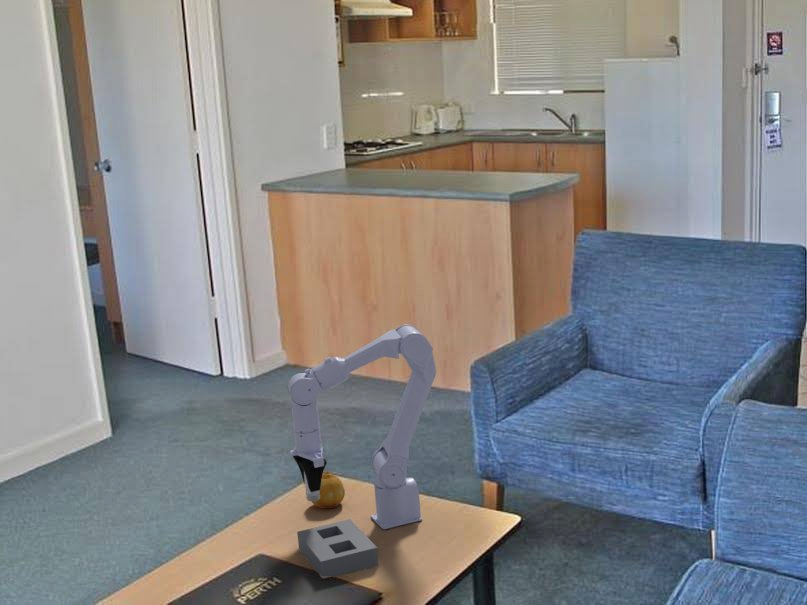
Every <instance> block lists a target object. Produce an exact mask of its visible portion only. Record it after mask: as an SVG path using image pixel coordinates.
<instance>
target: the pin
mask: <svg viewBox="0 0 807 605" xmlns="http://www.w3.org/2000/svg"><path fill="white" fill-rule="evenodd" d="M304 479H305V484H304V489H305V496H306V501H307V502H312V501H317V500H319V499H320V490H319V491H314V492H311V491H310V490H309V487H308V483H307V479H306V475H305V473H304Z"/></svg>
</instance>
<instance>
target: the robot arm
mask: <svg viewBox="0 0 807 605" xmlns="http://www.w3.org/2000/svg"><path fill="white" fill-rule="evenodd" d="M399 354H400V355H401V356H402V357H403V359H404V360H405V361H406V363H407V365H408V367H409V369H410V370H411V373H410V375H409V378H408V381H407V383H406V386H405V389H404V392H403V394H402V397H401V400H400V402H399V405H398V408H397V411H396V413H395V415H394V418H393V421H392V424H391V427H390V430H389V432H388V435H387V436H386V438H385V439H383V440H382V442H381V444H380V447H379V448H378V449H377V450H376V451H375V452H374V453H373V454H372V457H371V466H372V469H373V470H374V471H375V473H376V476H375V478H374V480H373V483H374V484H373V485H374V496H375V497H374V498H375V510H376V513H373V514H370V518H371V519H372V520H373V521H374V522H375V523H376V524H377V525H378V526H379V527H380V528H381V529H382V530H386V529H387V530H388V529H391V528H395V527H400V526H404V525H407V524H411V523H415V522H419V521H422V520H423V517H422V514H421V502H420V501H421V500H420V492H419V490H420V489H419V487H418V483H417V481H416V480H415V479H414V478H413V477H407V476H408V469H407V468H408V467H407V466H408V463H409V457H410V456H409V454H410V450H409V449H410V448H409V447H410V445H411V442H412V440H413V437H414V434H415V431H416V428H417V426H418V424H419V421H420V417H421V415H422V413H423V409H424V408H425V405H426V402H427V399H428V396H429V394H430V391H431V388H432V385H433V382H434V380H435V379H436V378H435V377H436V375H437V368H436V364H435V363H436V362H435V358H434V354H433V346H432V345H431V343H430V341H429V340H428V339H427V338H426V337H425V335H423V334H422V333H421V332H420V331H419V330H418V328H417V327H415V326H414V325H411V324H409V323H408V324H402V325H399V326H398V327H397V328H395V329H394V328H393V329H391V330H388V331H387V332H385V333H383V334H381V336H379V337H378V338H376V339H374V340H372V341H371V342H369V343H367V344H366V345H363V347H361V348H359V349H357V350H356V351H354V352H352V353H350V354H348V355H347V356H345V357H340V356H339V357H338V356H334V357H330V356H327V357H325V358H324V359H323V361H324V362H322V363H320V364H318V365H316V366H313V367H312V368H311V369H310V368H306V369H304V372H303V373H301V372H300V373H299V372H298V373H295V374H294V375H293V376H291V377H290V380H288V386H286V387H287V391H288V393H289V395H290V396H291V398H290V400H291V401H290V406H291V418H292V429H293V438H294V449H290V450H289V451H290V453H289V454H290V455H291V456H292V457H293V459H294V461H295V462H296V464H297V466H298V470H299V472H300V474H301V478H302V481H303V484H304V485H305V479H304V473H305V475H306V479H307V483H308V487H309V490H310V491H311V492H314V491H319V490H320V487H321V479H322V474H323V472H325V471H324V470H325V468H326V466H327V462H328V461H327V459H326V458H324V456H323V452H324V451H323V450H324V448H323V444H322V436H321V435H322V434H321V424H320V415H319V407H318V404H317V399H318V397H319V395H321V394H323V393H326V392H327V391H330V390H331V389H333V388H335V387H337V386H339V385H341V384H342V383H344V382H346V381H348V380H349V376H350V374H351V373H352V372H354V371H356V370H358V369H360V368H362V367H365V366H366V365H369V364H371V363H373V362H375V361H377V360H379V359H382V358H384V357H385V358H391V359H395V360H400V356H399Z"/></svg>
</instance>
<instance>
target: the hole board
mask: <svg viewBox="0 0 807 605" xmlns="http://www.w3.org/2000/svg"><path fill="white" fill-rule="evenodd" d="M296 533H297V543H298V550H299V552H301V554H302V555H303V556H304V558H305V559H306V560H307V562H308V563H309V564H310V566H311V567H312V568H313V570H314V571H315V572H316V571H317V572H318V573H320V574H321V575H322V576H331V577H333V578H336V577H340V576H344V575H348V574H352V573H355V572H359V571H363V570H367V569H371V568H374V567H378V566H379V556H378V554H379V553H378V547H377V545H375V543H373V542H372V540H370V538H369V537H368V536H367V534H365V533H364V532H363V531H362V530H361V529H360V528H359V527H358V526H357V525H356V523H354V521H353V520H351V519H350V518H349V519H345V520H341V521H336V522H332V523H327V524H324V525H320V526H317V527H312V528H307V529H303V530H299V531H297V532H296ZM317 572H316V573H317ZM318 573H317V574H318Z"/></svg>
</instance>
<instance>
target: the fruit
mask: <svg viewBox="0 0 807 605" xmlns="http://www.w3.org/2000/svg"><path fill="white" fill-rule="evenodd" d="M345 492H346V489H345V485H344V484H343V481H342V480H341V479H340V478H339V477H337V476H336V475H333V473H331V472H329V471H323V474H322V479H321V487H320V499H319V500H317V501H311V503H312V505H314V506H315V507H317V508H320V509H332V508H335V507H337V506H339V505H340V504H341V503H342V502H343V500H344V498H345V496H346V494H345Z"/></svg>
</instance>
